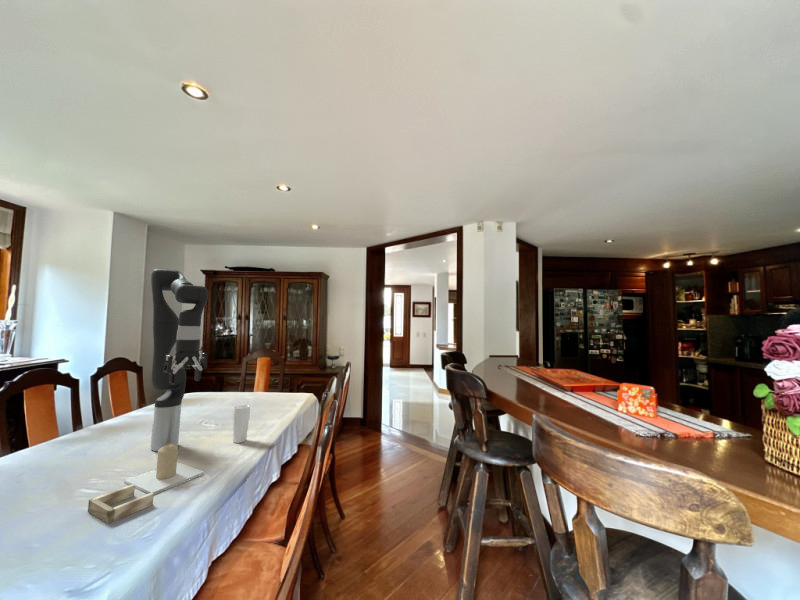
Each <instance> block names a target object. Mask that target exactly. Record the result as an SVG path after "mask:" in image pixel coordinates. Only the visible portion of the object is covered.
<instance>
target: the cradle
mask: <svg viewBox="0 0 800 600" xmlns="http://www.w3.org/2000/svg"><path fill="white" fill-rule="evenodd" d="M135 489H136V488H135V485H134V484H132V485H127V486H124V487H121V488H119V489H115V490H112V491H109V492H107V493H103V494H102V495H99V496H95V497H93V498H91V499H88V503H87V512H88V513H90V514H92V515H93V516H95V517H96V518H98V519H100V520H101V521H103V522H105V523H106V524H111V523H113V522H116V521H118V520H121V519H124V518H126V517H127V516H129V515H132V514H134V513H136V512H139V511H142V510H144V509H146V508H148V507H151V506H153V504H154V496H155V494H153V493H149V494H147V493H146V494H144V495H141V496H140V497H137V498H134V499H132V500H129V501H127V502H125V503H122V504H119V505H117V506H114V507H112V506H110V505H113V504H115V503H118V502H121V501H123V500H126V499H129V498H132V497H134V496H135Z"/></svg>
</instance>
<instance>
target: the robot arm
mask: <svg viewBox="0 0 800 600" xmlns="http://www.w3.org/2000/svg"><path fill="white" fill-rule="evenodd" d="M150 275H151V276H150V283H151V286H150V287H151V292H152V293H151V294H152V308H153V312H152V335H153V359H152V367H151V383H152V384H151V385H152V386H153V388H154V389H155V390H157V391H164V390H166V391H165V392H164V394H162V395H160V396H159V397H157V398H156V399H155V401H154V409H153V411H154V412H153V421H152V426H151V427H152V428H151V437H150V439H151V440H150V450H151V451H152V450H153V452H158V450H159V449H160V448H162V447H163V446H166V445H167V444H170V443H172V444H174V445H175V446H177V447H178V446H179V440H180V426H181V414H182V413H181V412H182V402H183V398H184V396H185V392H186V391H185V390H186V383H187V372H186V369H185V368H184V367H188V366H190V367H193V368H194V380H193V381H195V382H200V380H201V379H202V371H203V370H206V369H208V353H207V352H201V353H200V352H199V351H200V349H201V335H202V330H201V326H202V325H201V324H202V315H203V312H204V308H205V306H206V304H207V302H208V299H209V290H208V289H207V288H206V287H205V286H203V285H194V283H191V282H190V281H188V280H187V279H186V277H185V276H184V274H183V273H182V272H181V271H180V270H176V269H166V268H165V269H162V268H154V269H153V270H152V272H151V274H150ZM163 291H169V292H171V293H173V294H174V296H175V301H176V302H178V303H180V304H188V305H194V306H193V308H190V309H183V310H181V311H180V312H179V315H177V314H176V313H175V311H174V310H173V309H172V308H171V306H170V305H169V304H168V301H166V298H165V296H164V293H163ZM174 346H175V354H174V355H173V354H171V355H170V353H171V352H172V350H173V347H174ZM174 360H175V362H174ZM198 360H200V362H199V361H198ZM173 362H174V363H173Z"/></svg>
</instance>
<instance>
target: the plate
mask: <svg viewBox="0 0 800 600" xmlns="http://www.w3.org/2000/svg"><path fill="white" fill-rule="evenodd" d="M156 470H157V468H156V469H153V470H151V471H147V472H145V473H141V474H139V475H135V476H133V477H130V478H126V479H124V480H123V481H124V482H123V483H124V484H126V485H127V486H129V485H132V484H134V485H135V489H137V490H139V491H141V492H143V493H146V495H147V494H149V493H153V494H154V495H156V494H159V493H161V492H163V490H164V491H166V490H169V489H171V488H174V487H176V486H178V485H177V484H179V485H180V483H181V484H183V483H182V482H184V483H185V481H186V482H188V481H190V480H189V479H191V480H193V479H195V477H196V478H198V477H200V476H199V475H201V476H203V475H204V474H205V471H203V470H200V469H197V468H194V467H191V466H188V465H186V464H183V463H180V462H178V461H177V468H176V474H175V475H174V476H172V477H170V478H166V479H157V478H156ZM202 474H203V475H202ZM197 476H198V477H197ZM192 478H193V479H192ZM187 480H188V481H187ZM175 485H176V486H175ZM173 486H174V487H173ZM170 487H171V488H170ZM168 488H169V489H168ZM165 489H166V490H165ZM160 491H161V492H160ZM158 492H159V493H158Z"/></svg>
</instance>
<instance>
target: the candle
mask: <svg viewBox="0 0 800 600" xmlns="http://www.w3.org/2000/svg"><path fill="white" fill-rule="evenodd" d="M178 451H179V447H178V446H175V445H174V444H172V443H170V444H167V445H166V446H163V447H162V448H160V449H159V450H158V451H157V457H156V459H157V460H156V461H157V462H156V469H157V470H156V469H155V470H156V478H157V479H166V478H170V477H172V476H174V475H175V474H176V468H177V462H178V453H179V452H178Z"/></svg>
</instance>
